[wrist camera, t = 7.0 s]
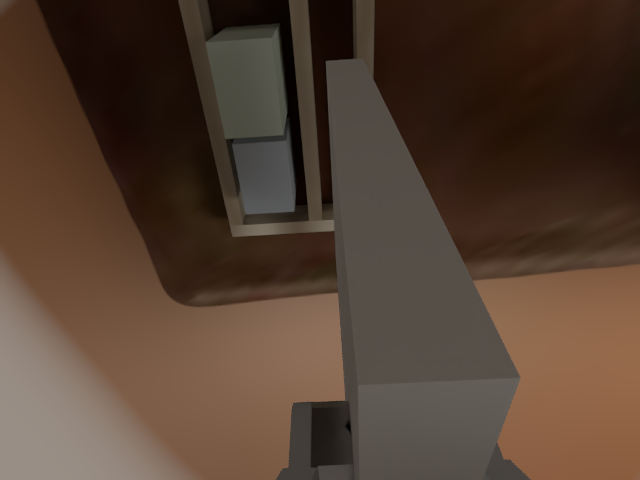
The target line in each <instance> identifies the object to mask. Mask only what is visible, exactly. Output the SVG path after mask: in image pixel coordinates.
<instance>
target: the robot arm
mask: <svg viewBox="0 0 640 480" xmlns="http://www.w3.org/2000/svg"><path fill="white" fill-rule="evenodd" d="M276 480H354V460H353V447H352V435H351V424H350V407H349V401H330V402H329V401H328V402H299V403H293V406H292V414H291V433H290V450H289V468H284V469H282V471H281V472H280V474H279V476H278V477H277V479H276ZM483 480H530V479H529V478H528V477H527V476H526V475H525V474H524V473H523V472H522V471H521V470H520V469H519V468H518V467H517V466H516V465H515V464H514V463H513V462H512V461H511V460H504V459H503V456H502V454H501V452H500V449H499V446H498V443H496V446H495V448H494V451H493V454H492V456H491V459H490V462H489V465H488V467H487V470H486V473H485V475H484V478H483Z"/></svg>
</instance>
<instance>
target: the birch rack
mask: <svg viewBox="0 0 640 480" xmlns="http://www.w3.org/2000/svg"><path fill="white" fill-rule="evenodd" d="M178 2H179V6H180V10H181V15H182V19H183V23H184V28H185V32H186V36H187V41H188V45H189V49H190V54H191V58H192V63H193V67H194V71H195V76H196V80H197V84H198V89H199V93H200V97H201V102H202V106H203V110H204V115H205V119H206V124H207V128H208V132H209V137H210V141H211V145H212V150H213V154H214V158H215V163H216V167H217V171H218V176H219V180H220V185H221V189H222V193H223V198H224V202H225V206H226V211H227V215H228V219H229V224H230V228H231V232H232V237H239V236H255V235H272V234H289V233H306V232H322V231H334V211H333V203H328V204H322V198H321V183H320V169H319V154H318V139H317V125H316V110H315V95H314V81H313V66H312V51H311V37H310V22H309V7H308V0H289V7H290V17H291V28H292V39H293V50H294V61H295V72H296V83H297V94H298V104H299V115H300V126H301V137H302V148H303V159H304V170H305V181H306V191H307V202H308V205H295V209H294V212H279V213H263V214H245V209H244V204H243V198H242V193H241V188H240V183H239V178H238V173H237V168H236V163H235V158H234V153H233V148H232V143H233V141H234V138H233V139H225V135H224V130H223V125H222V120H221V116H220V111H219V106H218V101H217V96H216V91H215V87H214V82H213V77H212V72H211V67H210V62H209V58H208V53H207V48H206V43H205V42H207V41H208V40H209V39H211V38H212V37H214V32H213V26H212V21H211V16H210V11H209V6H208V0H178ZM374 2H375V0H353V59H360V58H363V60H364V62H365V64H366V66H367V68H368V70H369V72H370V74H371V76H372V78H373V71H374Z"/></svg>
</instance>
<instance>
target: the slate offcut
mask: <svg viewBox="0 0 640 480" xmlns="http://www.w3.org/2000/svg"><path fill="white" fill-rule="evenodd" d="M232 148H233V153H234V158H235V163H236V168H237V173H238V178H239V183H240V188H241V193H242V198H243V204H244V209H245V214H263V213H279V212H294V209H295V196H296V184H297V180H296V171H295V161H294V152H293V142H292V133H291V123H290V117H288V118H286V123H285V129H284V135H278V136H263V137H248V138H235V139H234V141H233V143H232Z"/></svg>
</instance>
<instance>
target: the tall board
mask: <svg viewBox="0 0 640 480" xmlns="http://www.w3.org/2000/svg"><path fill="white" fill-rule="evenodd" d="M326 75H327V95H328V114H329V133H330V153H331V172H332V192H333V211H334V231H335V250H336V266H337V281H338V296H339V310H340V325H341V341H342V355H343V370H344V383H345V400H346V401H349V407H350V424H351V435H352V447H353V460H354V480H483V478H484V475H485V473H486V470H487V467H488V465H489V462H490V459H491V456H492V454H493V451H494V448H495V446H496V443H497V440H498V437H499V435H500V432H501V429H502V427H503V424H504V421H505V418H506V416H507V413H508V410H509V408H510V405H511V402H512V399H513V397H514V394H515V391H516V389H517V386H518V383H519V380H520V376H519V374H518V372H517V370H516V368H515V366H514V364H513V362H512V360H511V358H510V356H509V354H508V352H507V350H506V347H505V346H504V343H503V341H502V339H501V338H500V335H499V333H498V331H497V329H496V327H495V325H494V323H493V321H492V319H491V317H490V315H489V313H488V311H487V309H486V307H485V305H484V303H483V301H482V299H481V297H480V295H479V293H478V291H477V289H476V287H475V285H474V283H473V281H472V279H471V276H470V274H469V272H468V270H467V268H466V266H465V264H464V262H463V260H462V258H461V256H460V254H459V252H458V250H457V248H456V246H455V244H454V242H453V240H452V238H451V236H450V234H449V232H448V230H447V228H446V226H445V224H444V222H443V220H442V218H441V216H440V214H439V212H438V210H437V208H436V206H435V204H434V201H433V199H432V197H431V195H430V193H429V191H428V189H427V187H426V185H425V183H424V181H423V179H422V177H421V175H420V173H419V171H418V169H417V167H416V165H415V163H414V161H413V159H412V157H411V155H410V153H409V151H408V149H407V147H406V145H405V143H404V141H403V139H402V137H401V135H400V133H399V131H398V129H397V126H396V124H395V122H394V120H393V118H392V116H391V114H390V112H389V110H388V108H387V106H386V104H385V102H384V100H383V98H382V96H381V94H380V92H379V90H378V88H377V86H376V84H375V82H374V80H373V78H372V76H371V74H370V72H369V70H368V68H367V66H366V64H365V62H364V60H363V58H360V59H346V60H332V61H326Z"/></svg>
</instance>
